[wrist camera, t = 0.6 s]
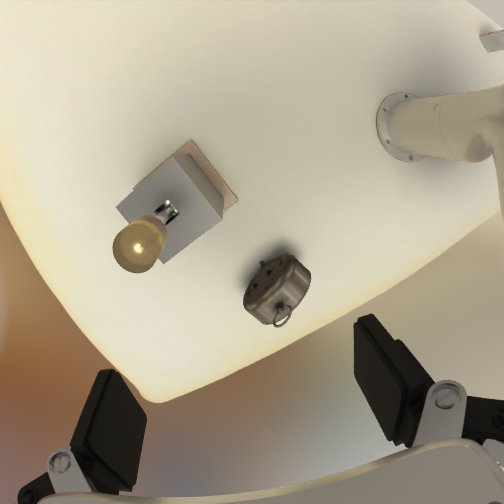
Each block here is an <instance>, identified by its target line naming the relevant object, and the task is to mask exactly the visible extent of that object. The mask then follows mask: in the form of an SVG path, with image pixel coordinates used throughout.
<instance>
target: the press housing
mask: <svg viewBox="0 0 504 504" xmlns="http://www.w3.org/2000/svg"><path fill="white" fill-rule="evenodd" d="M133 190H134V191H133V192H132V193H130V194H129V195H128V196H127V197H126V198H125V199H124V200H123V201H122V202H121V203H120V204H119V205H118V206H117V207H116V208H117V209H118V211H119V212H120V213H121V214H122V216H123V217H124V218H125V219H126V220H127V222H128V223H129V224H130V223H131V222H132V221H133V220H134V219H136V218H137V217H139V216H142V215H152V216H155V217H156V216H157V215H158V214H159V212H158V211H157V210H156V209H157V208H158V207H160V206H161V205H162V204H163V203H164V202H166V201H167V200H169V201H170V202H171V203H172V205H173V206H174V207H175V208H176V210H177V211H178V212H179V213H180V214H179V215H178V216H176V217H175V218H174V219H173V220H171V221H170V222H169V223H167V222H166V223H165V224H164V225H165V227H166V230H167V235H168V238H167V242H166V245H165V246H164V248H163V250H162V251H161V253H160V255H159V256H158V258H159V260H160V261H161V262H162V263H163V264H165V263H166V262H167V261H168V260H170V259H171V258H172V257H174V256H175V255H176V254H177V253H179V252H180V251H181V250H183V249H184V248H185V247H187V246H188V245H189V244H190V243H192V242H193V241H194V240H196V239H197V238H198V237H200V236H201V235H202V234H204V233H205V232H206V231H208V230H209V229H210V228H212V227H213V226H214V225H216V224H217V223H218V222H220V221H221V220H222V217H223V211H225V210H226V209H227V208H229V207H230V206H232V205H233V204H234V203H236V202H237V201H238V199H237V198H236V196H235V195H234V194H233V192H232V191H231V190H230V189H229V187H228V186H227V185H226V183H225V182H224V181H223V179H222V178H221V177H220V176H219V174H218V173H217V172H216V170H215V169H214V168H213V167H212V165H211V164H210V163H209V161H208V160H207V159H206V158H205V156H204V155H203V154H202V152H201V151H200V150H199V149H198V147H197V146H196V145H195V143H194V142H193V141H192V140H190V141H189V142H188V143H186V144H185V145H184V146H182V147H181V148H180V149H179V150H177V151H176V152H175V153H174V154H172V155H171V156H170V157H169V158H168V159H166V160H165V161H164V162H163V163H162V164H160V165H159V166H158V167H157V168H156V169H155V170H153V171H152V172H151V173H150V174H149V175H148V176H146V177H145V178H144V179H143V180H142V181H141V182H140V183H139V184H137V185H136V186H135V187H134V188H133Z"/></svg>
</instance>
